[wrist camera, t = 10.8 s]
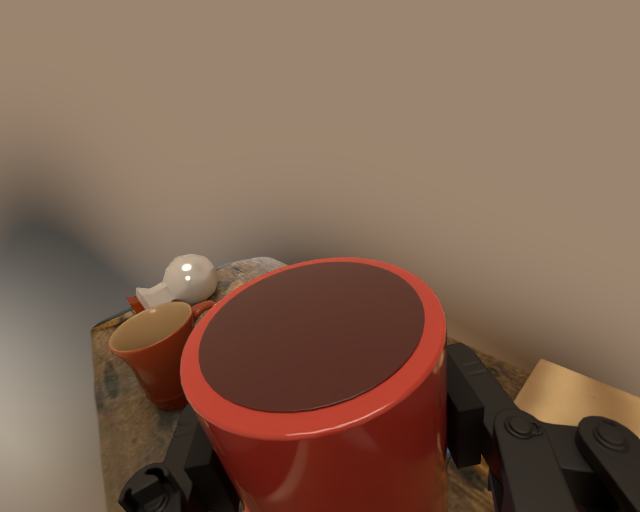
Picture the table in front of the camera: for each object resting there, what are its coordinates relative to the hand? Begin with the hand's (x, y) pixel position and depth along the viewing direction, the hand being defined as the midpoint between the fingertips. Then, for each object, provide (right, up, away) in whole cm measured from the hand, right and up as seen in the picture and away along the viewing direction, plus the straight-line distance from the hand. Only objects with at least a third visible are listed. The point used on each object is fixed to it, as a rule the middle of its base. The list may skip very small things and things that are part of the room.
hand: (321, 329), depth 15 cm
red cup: (+1, -7, -2) cm, 7 cm away
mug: (-16, -13, +24) cm, 31 cm away
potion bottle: (-25, -6, +41) cm, 49 cm away
